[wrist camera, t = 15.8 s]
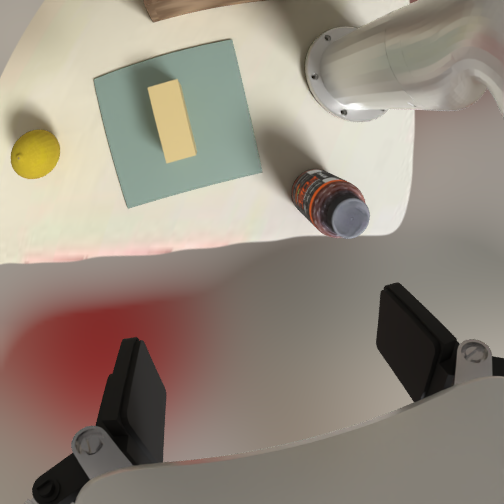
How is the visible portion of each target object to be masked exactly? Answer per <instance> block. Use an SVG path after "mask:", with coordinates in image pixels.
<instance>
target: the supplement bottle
mask: <svg viewBox="0 0 504 504" xmlns="http://www.w3.org/2000/svg"><path fill="white" fill-rule="evenodd" d="M292 199H293V202H294V205H295V206H296V208H297V209H298V210H299V211H300V212H301V213H302V214H303V215H304V216H305V217H306V218H307V219H308V220H309V221H310V222H311V223H312V224H313V225H314V226H315V227H316V228H317V229H318V230H319V231H320V232H321V233H323V234H324V235H326V236H329V237H334V238H347V239H348V238H349V239H350V238H355V237H357V236H359V235H360V234H361V233H363V231H364V230H365V229H366V228H367V225H368V223H369V218H370V214H369V209H368V207H367V205H366V204H365V199H364V197H363V195H362V193H361V192H360V190H359V189H358V188H357V187H356V186H354V185H353V184H351V183H349V182H347V181H345V180H343V179H341V178H339V177H337V176H335V175H333V174H330V173H328V172H326V171H324V170H319V169H312V170H308V171H306V172H304V173H302V174H301V175H300V176H299V177H298V178H297V179H296V181H295V182H294V185H293V188H292Z"/></svg>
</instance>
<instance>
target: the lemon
mask: <svg viewBox="0 0 504 504" xmlns="http://www.w3.org/2000/svg"><path fill="white" fill-rule="evenodd" d="M59 156H60V146H59V143H58V140H57V139H56V137H55V136H54V135H53V134H52V133H50V132H48V131H46V130H33V131H29V132H27V133H26V134H24V135H22V136H21V137H20V138H19V139H18V140H17V141H16V142H15V144H14V146H13V148H12V152H11V164H12V167H13V169H14V171H15V172H16V173H17V174H18V175H20V176H21V177H23V178H27V179H37V178H40V177H43V176H45V175H47V174H48V173H49V172H51V171H52V170H53V168H54V167H55V166H56V164H57V162H58V160H59Z"/></svg>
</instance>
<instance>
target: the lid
mask: <svg viewBox="0 0 504 504" xmlns="http://www.w3.org/2000/svg"><path fill="white" fill-rule="evenodd" d="M94 83H95V88H96V93H97V97H98V102H99V106H100V110H101V115H102V119H103V123H104V127H105V131H106V135H107V139H108V142H109V146H110V150H111V153H112V157H113V161H114V164H115V168H116V171H117V175H118V178H119V181H120V185H121V188H122V191H123V194H124V198H125V201H126V204H127V207H128V209H129V208H132V207H135V206H138V205H142V204H145V203H148V202H152V201H155V200H158V199H162V198H165V197H169V196H172V195H176V194H180V193H183V192H187V191H190V190H194V189H198V188H202V187H205V186H209V185H213V184H217V183H221V182H225V181H229V180H233V179H237V178H241V177H245V176H249V175H254V174H258V173H262V168H261V164H260V159H259V154H258V150H257V145H256V141H255V136H254V132H253V127H252V123H251V118H250V114H249V109H248V105H247V100H246V96H245V92H244V87H243V83H242V79H241V75H240V70H239V66H238V62H237V58H236V54H235V49H234V45H233V41H232V40H226V41H221V42H216V43H211V44H206V45H202V46H198V47H193V48H189V49H185V50H181V51H177V52H174V53H170V54H166V55H163V56H159V57H156V58H153V59H149V60H146V61H143V62H140V63H137V64H134V65H131V66H128V67H125V68H122V69H119V70H117V71H114V72H111V73H109V74H106V75H103V76H101V77H98V78H96V79H94Z"/></svg>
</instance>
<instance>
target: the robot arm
mask: <svg viewBox="0 0 504 504" xmlns="http://www.w3.org/2000/svg"><path fill="white" fill-rule="evenodd" d="M325 38H326V39H327V41H326V40H325ZM305 74H306V79H307V83H308V85H309V88H310V90H311V92H312V94H313V96H314V97H315V99H316V100H317V101H318V102H319V104H320V105H321V106H322V107H323V108H324V109H326V110H327V111H328V112H329V113H331V114H332V115H334V116H336V117H338V118H340V119H343V120H346V121H351V122H367V121H372V120H374V119H377V118H379V117H380V116H382V115H384V114H385V113H386V112H387V111H388V110H389V109H408V110H438V111H456V110H461V109H465V108H467V107H469V106H471V105H473V104H474V103H475V102H477V100H479V99H480V98H481V96H482V95H483V94H484V93H485V91H486V90H487V89H488V90H489V91H490V92H491V94H492V96H493V97H494V99H495V101H496V103H497V105H498V108H499V110H500V112H501V114H502V116H503V118H504V0H418V1H416V2H414V3H411V4H409V5H407V6H404V7H402V8H400V9H398V10H395V11H393V12H391V13H389V14H387V15H385V16H382V17H380V18H378V19H376V20H374V21H372V22H370V23H368V24H366V25H364V26H362V27H360V28H354V27H336V28H333V29H330V30H328V31H326V32H325V33H323V34H321V35H320V36H319V37H318V38H316V40H315V41H314V42H313V43H312V45H311V46H310V48H309V50H308V53H307V56H306V61H305ZM311 76H314V79H312V77H311ZM341 111H342V112H343V113H342V114H341ZM456 340H457V339H456V338H455V337H454V336H453V335H452V334H451V333H450V331H448V329H446V327H445V326H444V325H443V324H442V323H440V321H439V320H438V319H437V318H435V317H434V316H433V315H432V314H431V313H430V312H429V311H428V310H427V309H426V308H425V307H424V306H423V305H422V304H421V303H420V302H419V301H418V300H417V299H416V298H415V297H414V296H413V295H412V294H411V293H410V292H408V291H407V290H406V289H405V288H404V287H403V286H402V285H401V284H400V283H393V284H390V285H386V286H385V287H384V290H382V291H381V295H380V307H379V319H378V329H377V339H376V345H377V348H378V350H379V351H380V353H381V354H382V356H383V357H384V359H385V360H386V362H387V363H388V364H389V366H390V367H391V369H392V370H393V371H394V373H395V375H396V376H397V377H398V379H399V380H400V382H401V383H402V385H403V386H404V388H405V389H406V391H407V392H408V394H409V395H410V397H411V398H412V400H413V401H414V403H412V404H409V405H407V406H404V407H402V408H400V409H397V410H394V411H392V412H389V413H386V414H384V415H381V416H378V417H376V418H373V419H370V420H367V421H364V422H362V423H358V424H355V425H352V426H349V427H346V428H343V429H340V430H336V431H333V432H330V433H326V434H323V435H319V436H315V437H312V438H308V439H304V440H300V441H296V442H292V443H288V444H283V445H279V446H275V447H269V448H265V449H260V450H254V451H249V452H243V453H237V454H231V455H225V456H218V457H210V458H202V459H194V460H185V461H175V462H163V446H164V425H165V408H166V390H165V387H164V385H163V383H162V381H161V379H160V377H159V374H158V372H157V370H156V368H155V366H154V363H153V361H152V359H151V357H150V354H149V352H148V350H147V347H146V345H145V343H144V341H142V340H140V341H139V339H138V338H137V337H134V338H128V339H123V340H122V343H121V346H120V350H119V353H118V356H117V360H116V364H115V367H114V371H113V374H110V375H109V377H108V379H107V383H106V387H105V391H104V394H103V398H102V402H101V406H100V410H99V414H98V418H97V422H96V426H88V427H85V428H83V429H81V430H80V431H78V432H77V433H76V434H75V436H74V437H73V440H72V443H71V448H72V451H73V453H72V454H71V455H69V456H68V457H66V458H65V459H64V460H62V461H61V462H60V463H58V464H57V465H55V466H54V467H52V468H51V469H50V470H49V471H47V472H46V473H44V474H43V475H41V476H40V477H39V478H38V479H37V480H36V481H35V483H34V485H33V488H32V492H33V497H34V498H33V499H32V500H31V501H30V500H29V499H27V501H26V502H25V503H24V504H504V358H499V357H493V356H492V353H491V350H490V348H489V346H488V345H486V344H485V343H483V342H481V341H479V340H475V339H469V340H465V341H463V342H462V343H460V344H459V343H458V342H457V341H456Z"/></svg>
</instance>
